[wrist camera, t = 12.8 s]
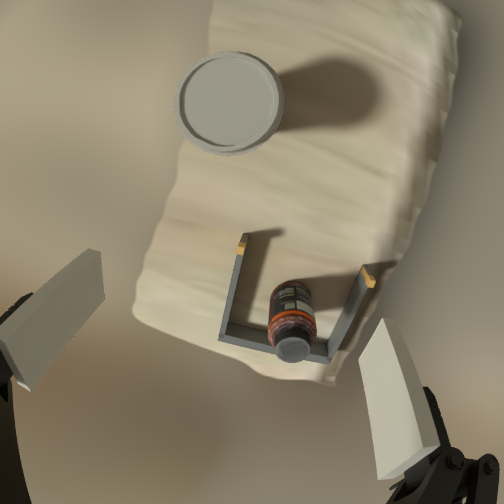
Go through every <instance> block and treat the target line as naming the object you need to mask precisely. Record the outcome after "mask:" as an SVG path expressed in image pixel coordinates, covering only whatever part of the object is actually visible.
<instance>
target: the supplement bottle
mask: <svg viewBox="0 0 504 504" xmlns="http://www.w3.org/2000/svg"><path fill="white" fill-rule="evenodd" d="M316 336H317V329H316V321H315V315H314V308H313V302H312V297H311V293H310V291H309V290H308V288H307V287H305V286H304V285H303V284H301V283H298V282H285V283H283V284H280V285H279V286H277V287H276V288H275V289H274V291H273V292H272V294H271V298H270V309H269V321H268V339H269V342H270V344H271V345H272V346H273V347H274V348H275V353H276V355H277V357H278V358H279V359H281V360H282V361H284V362H288V363H296V362H300V361H302V360H304V359H305V358H307V356H308V355H309V353H310V347H311V346H312V345H313V343H314V342H315V339H316Z"/></svg>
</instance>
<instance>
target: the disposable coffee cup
mask: <svg viewBox="0 0 504 504" xmlns="http://www.w3.org/2000/svg"><path fill="white" fill-rule="evenodd" d="M174 108H175V115H176V119H177V123H178V125H179V127H180V130H181V131H182V132H183V134H184V135H185V137H186V138H187V139H188V140H189V141H190V142H191V143H192V144H194V145H195V146H196V147H198V148H200V149H201V150H203V151H205V152H208V153H212V154H215V155H222V156H232V155H240V154H244V153H247V152H250V151H252V150H254V149H256V148H258V147H260V146H261V145H262V144H263V143H265V142H266V141H267V140H268V139H269V138H270V137H271V136H272V135H273V134H274V133H275V131H276V129H277V128H278V126H279V125H280V122H281V120H282V117H283V114H284V108H285V94H284V89H283V86H282V83H281V81H280V79H279V77H278V76H277V74H276V72H275V71H274V70H273V69H272V68H271V67H270V66H269V65H268V64H267V63H266V62H264V61H263V60H261V59H260V58H258V57H256V56H253V55H251V54H248V53H243V52H237V51H227V52H220V53H216V54H213V55H210V56H208V57H205V58H204V59H202V60H200V61H198V62H197V63H196V64H194V65H193V66H192V67H191V68H190V69H189V70H188V71H187V72H186V73H185V75H184V76H183V77H182V79H181V81H180V83H179V85H178V87H177V91H176V95H175V103H174Z"/></svg>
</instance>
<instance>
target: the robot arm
mask: <svg viewBox="0 0 504 504" xmlns="http://www.w3.org/2000/svg"><path fill="white" fill-rule="evenodd" d="M104 300H105V294H104V286H103V275H102V264H101V252H99V251H96V250H92V249H89V248H88V249H87V250H86V251H84V252H83V253H82V254H80V255H79V256H78V257H77V258H76V259H74V260H73V261H72V262H71V263H69V264H68V265H67V266H66V267H64V268H63V269H62V270H61V271H60V272H58V273H57V274H56V275H55V276H54V277H52V278H51V279H50V280H49V281H48V282H47V283H45V284H44V285H43V286H42V287H41V288H40V289H39V290H37V291H36V292H35V293H32V292H31V293H29V294H27V295H25V296H23V297H21V298H20V299H19V300H18V301H17V302H16V303H15V304H14V306H11V307H10V308H9V309H8V311H6V312H5V313H4V314H3V315H2V316H1V317H0V504H32V503H31V500H30V497H29V493H28V489H27V486H26V482H25V478H24V474H23V469H22V465H21V460H20V455H19V449H18V443H17V436H16V429H15V420H14V411H13V395H12V382H11V380H10V378H11V377H12V375H14V377H15V378H16V380H17V382H18V383H19V384H20V385H21V386H23V387H24V388H26V389H27V390H29V391H30V392H32V390H33V389H34V388H35V386H36V385H37V384H38V382H39V380H40V379H41V378H42V377H43V375H44V374H45V372H46V371H47V370H48V368H49V367H50V366H51V365H52V363H53V362H54V361H55V359H56V358H57V357H58V356H59V354H60V353H61V352H62V350H63V349H64V348H65V347H66V345H67V344H68V343H69V342H70V340H71V339H72V338H73V337H74V335H75V334H76V333H77V332H78V331H79V329H80V328H81V327H82V326H83V324H84V323H85V322H86V321H87V320H88V319H89V317H90V316H91V315H92V314H93V313H94V312H95V310H96V309H97V308H98V307H99V306H100V304H101V303H102V302H103V301H104ZM359 364H360V369H361V373H362V379H363V384H364V389H365V395H366V400H367V406H368V411H369V417H370V423H371V430H372V437H373V444H374V451H375V459H376V466H377V476H378V480H383V479H392V478H395V477H397V476H399V475H400V474H402V473H403V472H404V475H405V478H404V479H402V480H401V481H399V482H398V483H396V484H394V485H393V486H391V488H390V490H392V489H394V488H396V487H397V488H396V490H395V491H394V493H393V494H392V496H391V497H390V499H389V500H388V502H387V503H386V504H462V500H463V498H465V497H467V499H466V503H465V504H496V502H497V494H498V485H499V471H500V469H499V463H498V460H497V459H496V457H495V456H494V455H492V454H485V455H483V456H482V457H481V458H479V459H478V460H473V459H467V458H465V457H464V455H463V453H462V452H461V451H460V450H459V449H457V448H454V447H451V445H450V442H449V438H448V435H447V431H446V428H445V425H444V422H443V419H442V417H441V413H440V410H439V408H438V404H437V401H436V398H435V396H434V394H433V393H432V392H431V390H430V389H429V388H428V387H422V384H421V381H420V379H419V376H418V373H417V370H416V368H415V365H414V363H413V360H412V357H411V355H410V352H409V350H408V347H407V345H406V342H405V340H404V337H403V335H402V333H401V330H400V328H399V325H398V323H397V321H396V320H393V319H387V318H382V319H381V321H380V323H379V325H378V327H377V329H376V331H375V332H374V334H373V336H372V338H371V339H370V341H369V343H368V344H367V346H366V348H365V350H364V351H363V353H362V355H361V356H360V358H359Z"/></svg>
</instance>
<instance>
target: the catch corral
mask: <svg viewBox="0 0 504 504" xmlns="http://www.w3.org/2000/svg"><path fill="white" fill-rule="evenodd" d="M248 237H249V235H247V234H243V235H242V237H241V240H240V242H239V245H238V248H237V253H236V254H237V256H236V260H235V265H234V269H233V274H232V278H231V283H230V287H229V292H228V296H227V301H226V305H225V310H224V314H223V319H222V324H221V328H220V333H219V338H218V341H222V342H226V343H229V344H233V345H237V346H241V347H246V348H250V349H254V350H258V351H263V352H267V353H272V354H276V353H275V348H274V347H273V346H272V345H271V344H270V342H269V339H268V332H265V331H260V330H256V329H252V328H248V327H244V326H240V325H236V324H232V323H228V322H229V317H230V313H231V309H232V305H233V300H234V296H235V292H236V288H237V284H238V279H239V275H240V271H241V267H242V262H243V258H244V254H245V250H246V246H247V242H248ZM375 283H376V280H375V279H374V277H373V275H372V273H371V271H370V269H369V268H368V266H366V265H362V267H361V270H360V272H359V275H358V277H357V279H356V282H355V284H354V286H353V289H352V291H351V293H350V295H349V298H348V300H347V302H346V304H345V306H344V309H343V311H342V313H341V315H340V317H339V319H338V321H337V323H336V326H335V328H334V330H333V332H332V334H331V336H330V338H329V340H328V342H327V344H321V343H316V342H314V343H313V345H312V346H311V347H310V353H309V355H308V356H307V358H305V359H304V360H306V361H312V362H317V363H323V364H330V362H331V360H332V358H333V356H334V355H335V353H336V351H337V349H338V347H339V345H340V344H341V342H342V340H343V338H344V336H345V334H346V332H347V330H348V328H349V326H350V324H351V322H352V320H353V318H354V316H355V314H356V312H357V310H358V308H359V306H360V304H361V302H362V300H363V298H364V296H365V293H366V291H367V289H368V287H370V288H373V287H374V285H375Z"/></svg>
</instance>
